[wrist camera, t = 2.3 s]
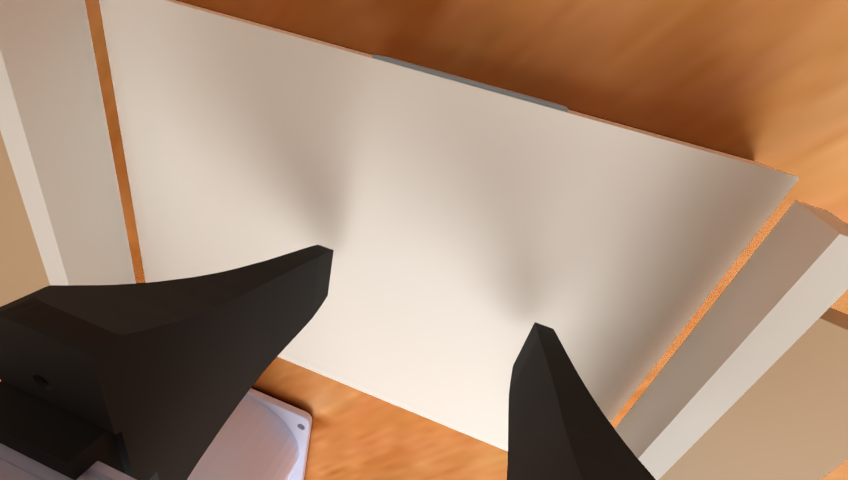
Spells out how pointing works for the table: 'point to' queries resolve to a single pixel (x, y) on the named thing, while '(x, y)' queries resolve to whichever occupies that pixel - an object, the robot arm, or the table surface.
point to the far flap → (55, 155)
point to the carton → (421, 209)
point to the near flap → (758, 369)
